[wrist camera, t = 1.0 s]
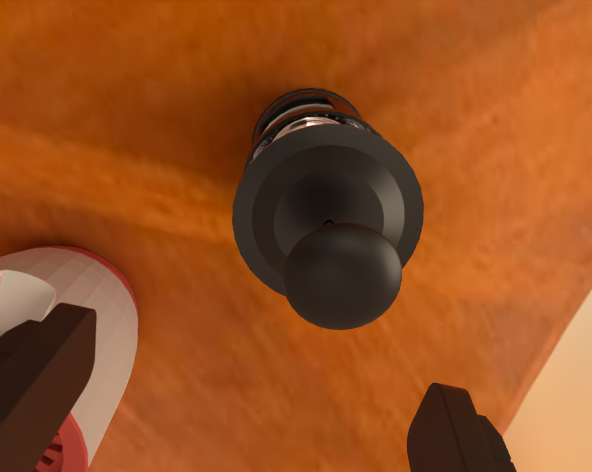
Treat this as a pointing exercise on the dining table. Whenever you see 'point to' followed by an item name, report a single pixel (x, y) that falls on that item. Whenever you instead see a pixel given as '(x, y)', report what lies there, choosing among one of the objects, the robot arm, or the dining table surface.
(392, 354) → the dining table surface
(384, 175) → the french press
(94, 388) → the citrus juicer
